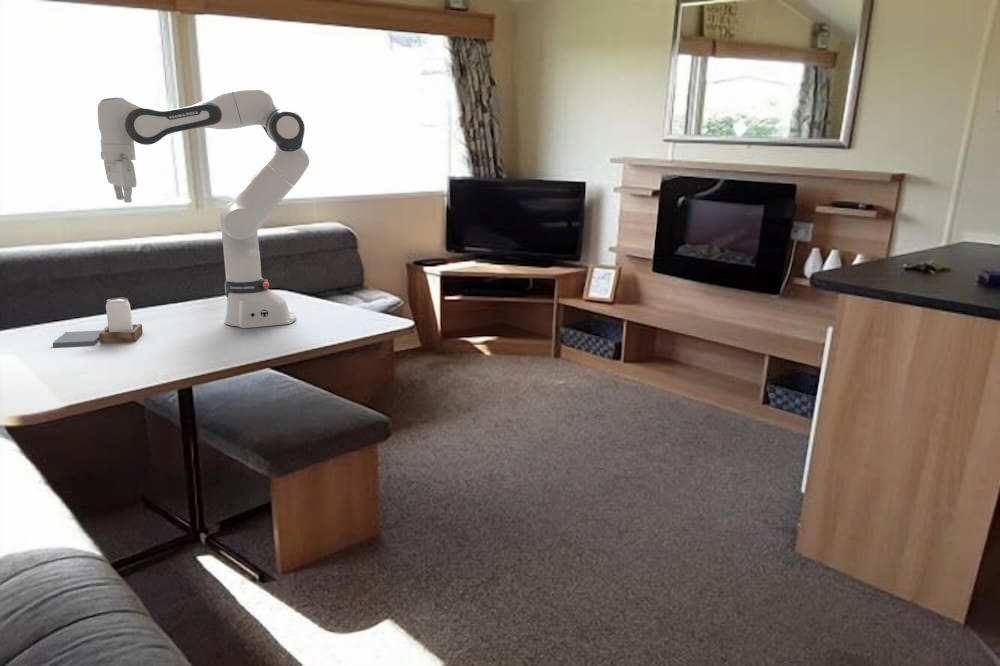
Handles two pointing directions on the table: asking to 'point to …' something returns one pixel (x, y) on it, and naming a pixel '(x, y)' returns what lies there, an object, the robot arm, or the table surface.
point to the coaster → (77, 338)
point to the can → (119, 315)
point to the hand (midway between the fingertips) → (124, 201)
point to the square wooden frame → (121, 335)
